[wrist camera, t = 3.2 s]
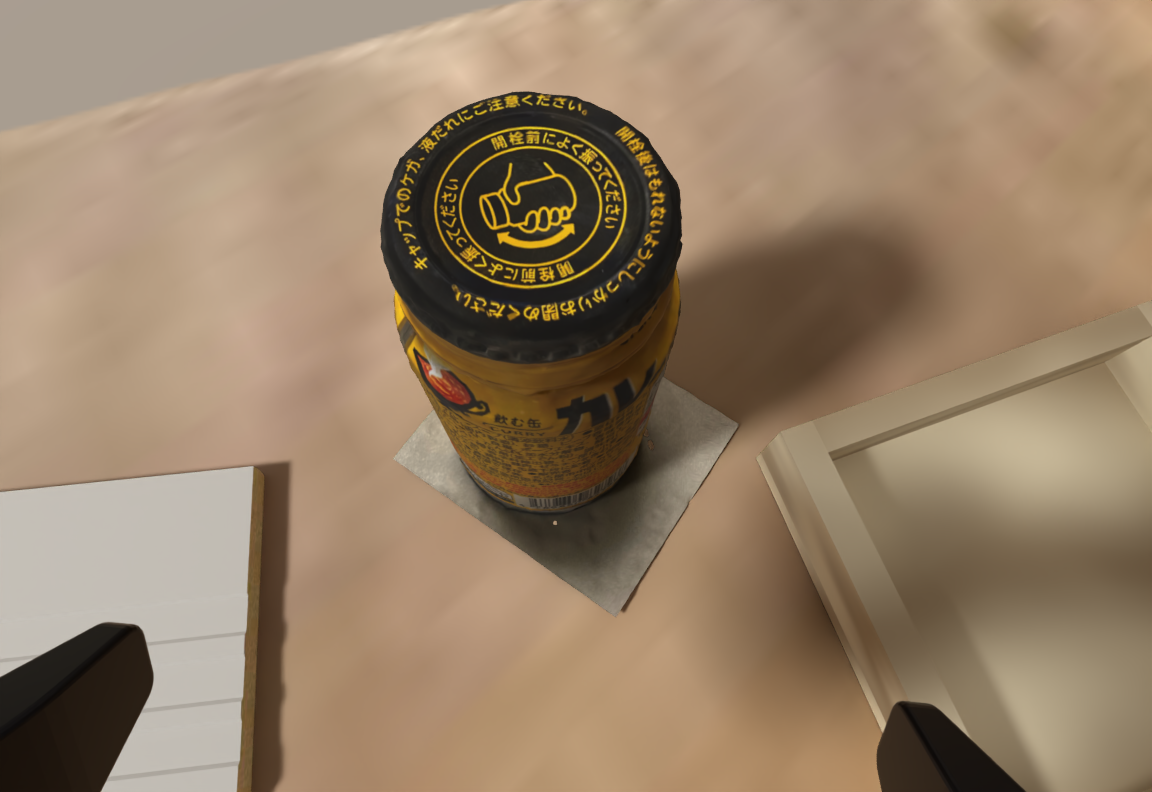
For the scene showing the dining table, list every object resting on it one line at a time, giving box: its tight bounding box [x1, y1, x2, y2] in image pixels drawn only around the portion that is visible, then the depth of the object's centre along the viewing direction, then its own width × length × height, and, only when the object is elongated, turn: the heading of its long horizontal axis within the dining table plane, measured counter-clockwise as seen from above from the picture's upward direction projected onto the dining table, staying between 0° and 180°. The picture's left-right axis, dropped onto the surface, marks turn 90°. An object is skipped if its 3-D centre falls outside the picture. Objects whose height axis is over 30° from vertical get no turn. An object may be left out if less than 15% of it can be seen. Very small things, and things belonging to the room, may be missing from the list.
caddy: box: [756, 300, 1152, 792], centre depth 20 cm, size 13×13×3 cm
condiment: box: [380, 92, 739, 617], centre depth 17 cm, size 7×8×12 cm
